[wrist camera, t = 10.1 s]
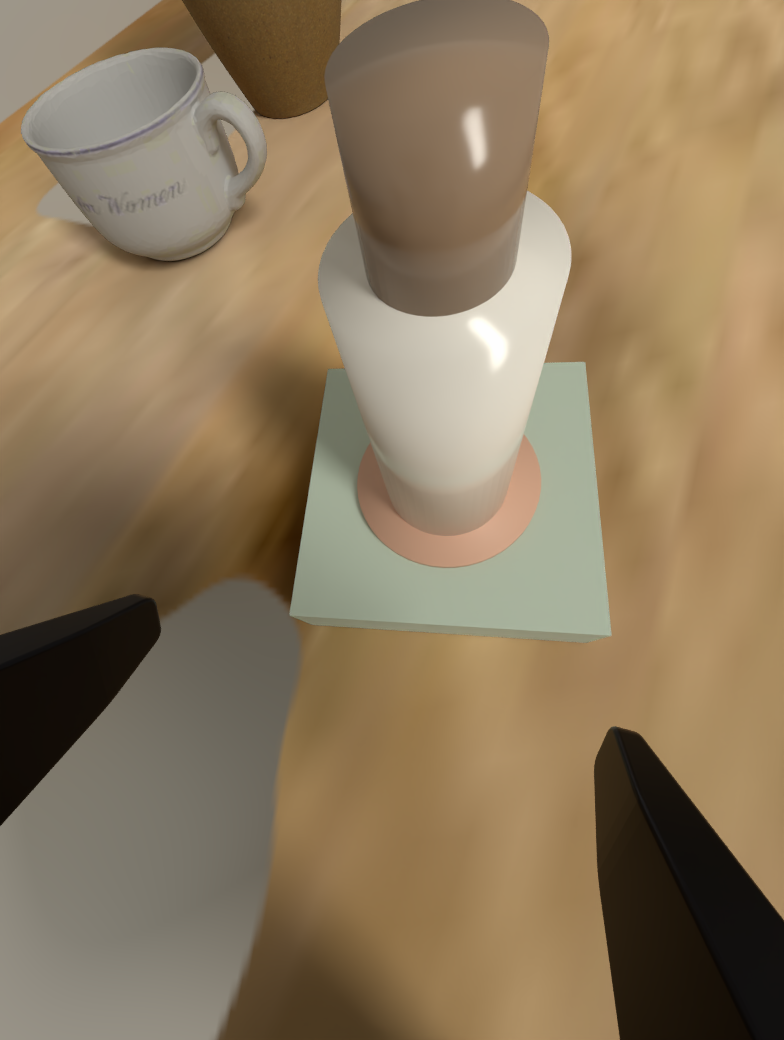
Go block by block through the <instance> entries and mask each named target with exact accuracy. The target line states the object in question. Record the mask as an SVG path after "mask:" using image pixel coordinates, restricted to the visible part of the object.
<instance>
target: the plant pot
mask: <svg viewBox="0 0 784 1040" xmlns="http://www.w3.org/2000/svg"><path fill="white" fill-rule="evenodd" d="M182 1H183V3H184V4H185V6H186V7H187V9H188V11H189V12H190V14H191V16H192V17H193V19H194V20H195V22H196V24H197V25H198V27H199V28H200V30H201V32H202V33H203V35H204V36H205V38H206V39H207V41H208V42H209V44H210V46H211V47H212V49H213V50H214V52H215V53H216V55H217V56H218V58H219V59H220V61H221V62H222V64H223V65H224V67H225V68H226V70H227V71H228V72H229V74H230V75H231V77H232V78H233V80H234V81H235V83H236V84H237V85H238V87H239V88H240V90H241V91H242V93H243V94H244V95H245V97H246V98H247V100H248V101H249V102H250V104H251V105H252V106H253V108H254V109H255V110H256V111H257V112H258V113H260V114H261V115H263V116H266V117H270V118H289V117H294V116H298V115H301V114H304V113H307V112H309V111H311V110H313V109H315V108H317V107H318V106H319V105H321V104H322V103H323V102H325V101H326V100H327V99H328V95H327V91H326V86H325V78H324V76H325V69H326V66H327V62H328V60H329V58H330V56H331V55H332V53H333V51H334V50H335V49H336V47H337V46H338V45H339V39H340V21H341V0H182Z"/></svg>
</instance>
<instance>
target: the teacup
mask: <svg viewBox="0 0 784 1040" xmlns="http://www.w3.org/2000/svg"><path fill="white" fill-rule="evenodd" d="M220 119H221V120H224V121H227V122H228V123H230V124H232V125H233V126H234V128H235V129H236V130H237V131H238V132H239V133H240V135H241V136H242V138H243V139H244V141H245V143H246V146H247V150H248V161H247V164H246V166H245V168H244V169H243V171H241V172H240V173H238V169H237V165H236V162H235V158H234V155H233V152H232V149H231V147H230V144H229V141H228V138H227V135H226V133H225V130H224V128H223V125H222V123H221V120H220ZM21 134H22V137H23V139H24V141H25V142H26V144H27V145H28V146H29V147H30V148H31V149H32V150H33V151H34V152H35V153H37V154H38V156H39V157H40V158H41V159H42V161H43V162H44V164H45V165H46V166H47V168H48V169H49V170H50V172H51V173H52V174H53V176H54V177H55V178H56V180H57V181H58V182H59V184H60V185H61V186H62V188H63V189H64V190H65V191H66V193H67V194H68V195H69V197H70V198H71V199H72V200H73V202H74V203H75V204H76V206H77V207H78V208H79V209H80V210H81V212H82V213H83V214H84V215H85V217H86V218H87V219H88V220H89V221H90V223H91V224H92V225H93V226H94V227H95V228H96V229H97V230H98V231H99V232H100V233H101V234H102V235H103V236H104V237H105V238H106V239H107V240H108V241H110V242H111V243H112V244H114V245H115V246H117V247H118V248H120V249H122V250H124V251H127V252H129V253H132V254H136V255H140V256H147V257H150V258H153V259H157V260H164V261H174V260H181V259H186V258H189V257H192V256H194V255H197V254H199V253H201V252H203V251H205V250H207V249H208V248H210V247H211V246H213V245H214V244H215V243H216V242H217V241H218V240H219V239H221V237H222V236H223V235H224V234H225V232H226V231H227V229H228V227H229V225H230V223H231V218H232V216H233V214H234V212H235V210H238V209H240V208H241V207H242V205H243V204H244V202H245V194H246V193H247V192H248V191H249V190H250V189H251V188H252V187H253V186H254V184H255V183H256V182H257V181H258V179H259V178H260V176H261V174H262V172H263V169H264V166H265V162H266V158H267V145H266V140H265V136H264V133H263V130H262V128H261V125H260V123H259V121H258V119H257V118H256V116H255V115H254V113H253V112H252V110H251V109H250V108H249V107H248V106H247V105H246V104H245V103H244V102H243V101H242V100H241V99H239V98H238V97H237V96H235V95H233V94H230V93H228V92H222V91H220V92H215V93H212V94H210V92H209V89H208V87H207V84H206V81H205V77H204V71H203V67H202V65H201V63H200V62H199V60H198V59H197V58H196V57H195V56H193V55H192V54H190V53H189V52H185V51H183V50H179V49H173V48H151V49H141V50H137V51H131V52H129V53H127V54H120V55H117V56H114V57H111V58H108V59H106V60H103V61H99V62H97V63H95V64H92V65H90V66H88V67H86V68H84V69H82V70H80V71H78V72H76V73H74V74H72V75H70V76H69V77H67V78H66V79H64V80H63V81H62V82H60V83H58V84H56V85H55V86H54V87H52V88H51V89H50V90H48V91H46V92H45V93H44V94H42V95H41V96H40V97H39V98H38V100H37V101H36V102H35V103H34V104H33V105H32V106H31V107H30V109H29V110H28V111H27V113H26V115H25V117H24V119H23V121H22V126H21Z"/></svg>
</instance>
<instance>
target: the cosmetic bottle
mask: <svg viewBox="0 0 784 1040" xmlns="http://www.w3.org/2000/svg"><path fill="white" fill-rule="evenodd" d="M548 48H549V35H548V31H547V28H546V26H545V24H544V22H543V21H542V20H541V19H540V17H539V16H538V15H537V14H535V13H534V12H533V11H532V10H530V9H529V8H527V7H525V6H523V5H521V4H519V3H517V2H514V1H511V0H419V1H416V2H412V3H409V4H405V5H402V6H399V7H397V8H394V9H392V10H389V11H387V12H385V13H382V14H380V15H378V16H376V17H374V18H373V19H371V20H369V21H367V22H366V23H364V24H362V25H361V26H360V27H358V28H357V29H355V30H354V31H353V32H351V33H350V34H349V35H348V36H347V37H346V38H345V39H344V40H343V41H342V42H341V43H340V44H339V45H338V46H337V47H336V49H335V50H334V51H333V53H332V55H331V56H330V58H329V60H328V62H327V66H326V69H325V76H324V78H325V86H326V91H327V95H328V100H329V105H330V109H331V114H332V119H333V123H334V128H335V133H336V137H337V142H338V147H339V151H340V156H341V161H342V165H343V170H344V175H345V179H346V184H347V189H348V193H349V198H350V203H351V207H352V212H353V213H352V214H351V215H350V216H349V217H348V218H347V219H346V220H345V221H344V222H343V223H342V224H341V225H340V226H339V228H338V229H337V230H336V231H335V233H334V234H333V235H332V237H331V239H330V240H329V242H328V243H327V245H326V248H325V250H324V252H323V254H322V258H321V261H320V265H319V272H318V287H319V293H320V297H321V300H322V303H323V306H324V309H325V312H326V315H327V318H328V321H329V324H330V327H331V330H332V332H333V335H334V338H335V341H336V344H337V347H338V350H339V353H340V356H341V358H342V361H343V364H344V367H345V370H346V373H347V376H348V379H349V382H350V384H351V387H352V390H353V393H354V396H355V399H356V402H357V405H358V408H359V411H360V413H361V416H362V419H363V422H364V425H365V428H366V431H367V434H368V437H369V439H370V442H371V445H372V448H373V451H374V454H375V457H376V460H377V463H378V466H379V468H380V471H381V474H382V477H383V480H384V483H385V486H386V489H387V492H388V494H389V497H390V500H391V502H392V505H393V507H394V508H395V510H396V511H397V513H398V514H399V515H400V516H401V518H403V519H404V520H405V521H406V522H407V523H408V524H410V525H411V526H413V527H414V528H416V529H418V530H420V531H423V532H425V533H428V534H433V535H438V536H455V535H461V534H465V533H468V532H471V531H473V530H476V529H478V528H479V527H481V526H483V525H484V524H486V523H487V522H488V521H489V520H491V519H492V518H493V517H494V516H495V515H496V513H497V512H498V511H499V509H500V508H501V506H502V504H503V502H504V500H505V497H506V495H507V491H508V488H509V484H510V480H511V477H512V473H513V470H514V466H515V463H516V459H517V456H518V452H519V449H520V445H521V442H522V438H523V435H524V431H525V428H526V424H527V420H528V417H529V413H530V410H531V406H532V403H533V399H534V396H535V392H536V389H537V385H538V382H539V378H540V375H541V371H542V367H543V364H544V360H545V357H546V353H547V350H548V346H549V343H550V339H551V336H552V332H553V329H554V325H555V322H556V318H557V315H558V311H559V307H560V304H561V300H562V297H563V293H564V290H565V286H566V283H567V279H568V276H569V271H570V265H571V247H570V241H569V237H568V235H567V232H566V230H565V227H564V225H563V224H562V222H561V220H560V219H559V217H558V216H557V215H556V213H555V212H554V211H553V210H552V209H551V208H550V207H549V206H548V205H547V204H546V203H545V202H543V201H542V200H541V199H540V198H538V197H537V196H535V195H533V194H532V193H530V192H529V191H527V188H528V181H529V175H530V168H531V161H532V155H533V148H534V141H535V135H536V128H537V121H538V115H539V108H540V101H541V95H542V88H543V81H544V75H545V68H546V61H547V55H548Z"/></svg>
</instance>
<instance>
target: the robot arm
mask: <svg viewBox="0 0 784 1040" xmlns="http://www.w3.org/2000/svg"><path fill="white" fill-rule="evenodd" d="M160 633H161V626H160V621H159V615H158V610H157V605H156V602H155V601H154V599H152V598H150V597H146V596H142V595H139V594H133V595H129V596H126V597H123V598H119V599H116V600H113V601H110V602H106V603H103V604H100V605H97V606H93V607H90V608H87V609H83V610H80V611H77V612H74V613H70V614H67V615H64V616H61V617H57V618H54V619H51V620H48V621H44V622H41V623H38V624H35V625H31V626H28V627H25V628H21V629H18V630H15V631H12V632H8V633H5V634H2V635H0V826H1V825H2V824H3V822H4V821H5V820H6V819H7V818H8V817H9V816H10V815H11V814H12V812H13V811H14V810H15V809H16V808H17V807H18V806H19V805H20V803H21V802H22V801H23V800H24V799H25V798H26V797H27V796H28V795H29V793H30V792H31V791H32V790H33V789H34V788H35V787H36V786H37V785H38V783H39V782H40V781H41V780H42V779H43V778H44V777H45V776H46V774H47V773H48V772H49V771H50V770H51V769H52V768H53V767H54V765H55V764H56V763H57V762H58V761H59V760H60V759H61V758H62V757H63V755H64V754H65V753H66V752H67V751H68V750H69V749H70V748H71V747H72V745H73V744H74V743H75V742H76V741H77V740H78V739H79V738H80V736H81V735H82V734H83V733H84V732H85V731H86V730H87V729H88V728H89V726H90V725H91V724H92V723H93V722H94V721H95V720H96V719H97V717H98V716H99V715H100V714H101V713H102V712H103V711H104V709H105V708H106V707H107V706H108V705H109V704H110V702H111V701H112V700H113V699H114V697H115V696H116V695H117V693H118V692H119V691H120V689H121V688H122V687H123V685H124V684H125V683H126V681H127V680H128V679H129V678H130V676H131V675H132V673H133V672H134V671H135V670H136V668H137V667H138V665H139V664H140V662H142V660H143V659H144V657H145V656H146V655H147V654H148V652H149V651H150V649H151V648H152V647H153V646H154V644H155V643H156V641H157V640H158V638H159V636H160ZM594 785H595V815H596V845H597V868H598V879H599V888H600V896H601V904H602V911H603V918H604V926H605V933H606V940H607V948H608V955H609V962H610V970H611V977H612V984H613V992H614V999H615V1006H616V1013H617V1021H618V1028H619V1035H620V1040H784V920H783V919H782V917H781V916H780V915H779V913H778V912H777V911H776V909H775V908H774V907H773V906H772V904H771V903H770V902H769V900H768V899H767V898H766V897H765V895H764V894H763V893H762V891H761V890H760V889H759V887H758V886H757V885H756V884H755V882H754V881H753V880H752V878H751V877H750V876H749V874H748V873H747V872H746V871H745V869H744V868H743V867H742V865H741V864H740V863H739V862H738V860H737V859H736V858H735V856H734V855H733V854H732V852H731V851H730V850H729V849H728V847H727V846H726V845H725V843H724V842H723V841H722V840H721V838H720V837H719V836H718V834H717V833H716V832H715V830H714V829H713V828H712V827H711V825H710V824H709V823H708V821H707V820H706V819H705V818H704V816H703V815H702V814H701V812H700V811H699V810H698V808H697V807H696V806H695V805H694V803H693V802H692V801H691V799H690V798H689V797H688V796H687V794H686V793H685V792H684V790H683V789H682V788H681V786H680V785H679V784H678V783H677V781H676V780H675V779H674V777H673V776H672V775H671V774H670V772H669V771H668V770H667V768H666V767H665V766H664V764H663V763H662V762H661V761H660V759H659V758H658V757H657V755H656V754H655V753H654V752H653V750H652V749H651V748H650V746H649V745H648V744H647V742H646V741H645V740H644V739H643V737H642V736H641V735H640V734H638V733H637V732H634V731H631V730H627V729H623V728H620V727H616V726H614V727H611V728H610V729H609V730H608V732H607V734H606V736H605V739H604V741H603V743H602V745H601V747H600V750H599V752H598V754H597V756H596V760H595V765H594Z"/></svg>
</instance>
